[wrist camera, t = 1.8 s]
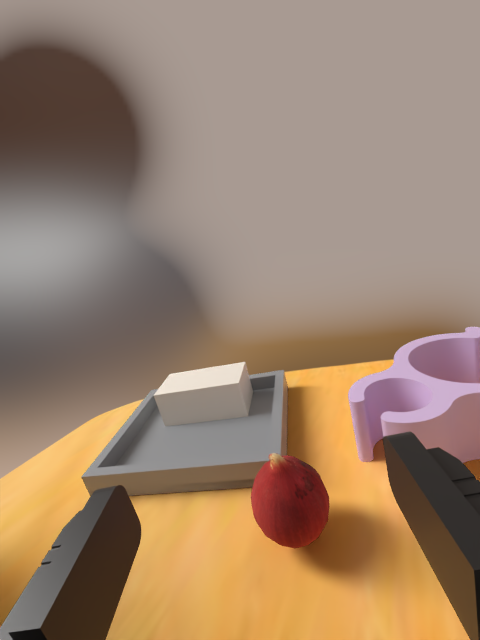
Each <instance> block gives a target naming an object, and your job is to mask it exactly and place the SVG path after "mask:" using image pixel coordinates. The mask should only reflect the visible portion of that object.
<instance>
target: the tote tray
mask: <svg viewBox="0 0 480 640" xmlns="http://www.w3.org/2000/svg"><path fill="white" fill-rule="evenodd" d="M249 378H250V382H251V386H252V389H253V395H252V400H251V405H250V409H249V414H248V416H247V417H239V418H230V419H222V420H214V421H206V422H197V423H189V424H181V425H173V426H165V425H164V422H163V420H162V417H161V414H160V412H159V409H158V406H157V403H156V401H155V398H154V394H155V393H156V392H157V390H158V389H155V390H151V391H150V393H149V394H148V395H147V396H146V398H145V399H144V400H143V401H142V402H141V404H140V405H139V406H138V407H137V409H136V410H135V411H134V412H133V414H132V415H131V416H130V417H129V419H128V420H127V421H126V422H125V424H124V425H123V426H122V427H121V428H120V430H119V431H118V432H117V433H116V435H115V436H114V437H113V438H112V440H111V441H110V442H109V443H108V445H107V446H106V447H105V448H104V450H103V451H102V452H101V453H100V455H99V456H98V457H97V458H96V459H95V461H94V462H93V463H92V464H91V466H90V467H89V468H88V469H87V471H86V472H85V473H84V474H83V476H82V479H83V481H84V484H85V486H86V488H87V490H88V492H89V494H90V496H91V495H92V494H93V492H94V491H95V490H97V489H101V488H106V487H111V486H117V485H122V486H124V488H125V489H126V491H127V494H128V496H133V495H147V494H162V493H176V492H191V491H205V490H220V489H234V488H249V487H253V484H254V479H255V477H256V475H257V473H258V472H259V470H260V469H261V468H262V466H263V465H264V464H265V463H266V462H268V461H269V460H270V459H269V455H270V454H272V453H277V454H279V455H281V456H284V455H287V419H288V386H287V382H286V377H285V373H284V370H280V371H274V372H267V373H260V374H254V375H249Z"/></svg>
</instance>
